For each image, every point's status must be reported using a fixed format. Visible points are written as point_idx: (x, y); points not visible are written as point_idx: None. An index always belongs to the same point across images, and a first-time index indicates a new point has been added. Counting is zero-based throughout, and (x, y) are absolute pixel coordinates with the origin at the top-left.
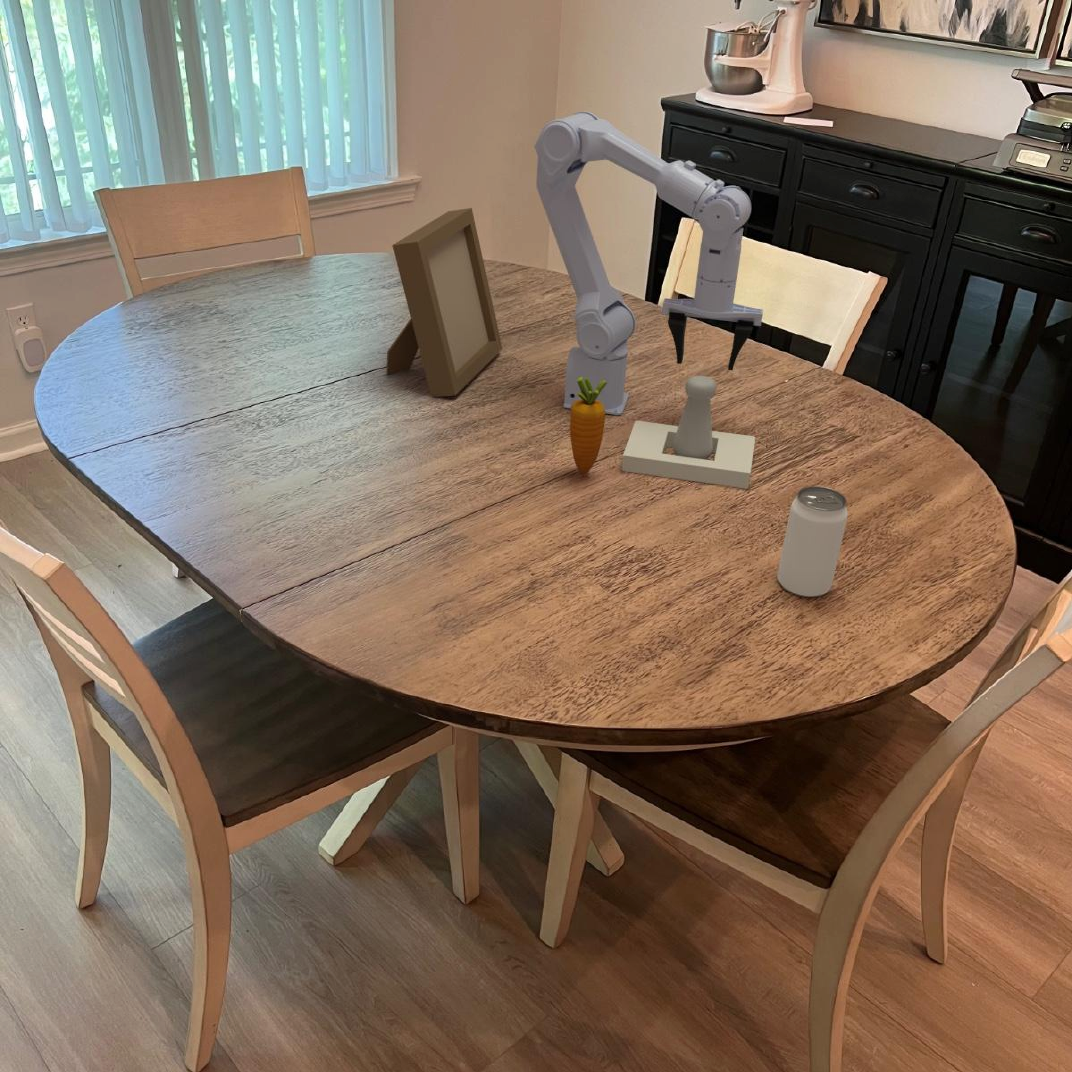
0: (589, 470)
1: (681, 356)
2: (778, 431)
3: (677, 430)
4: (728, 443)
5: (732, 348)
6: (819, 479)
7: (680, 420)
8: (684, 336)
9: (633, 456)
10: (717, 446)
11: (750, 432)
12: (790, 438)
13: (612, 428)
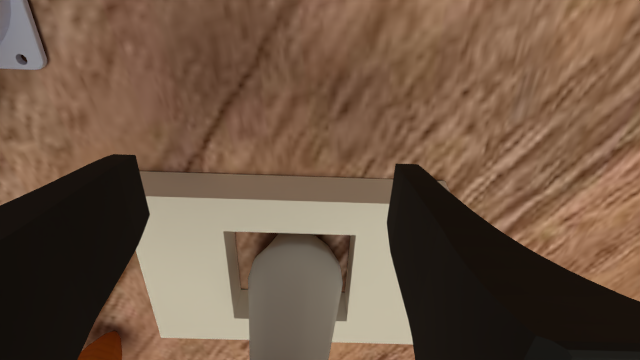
0: (120, 344)
1: (131, 254)
2: (553, 34)
3: (249, 309)
4: (380, 252)
5: (414, 346)
6: (571, 258)
7: (249, 332)
8: (44, 218)
9: (182, 337)
10: (353, 270)
11: (457, 67)
12: (577, 76)
13: (69, 146)
